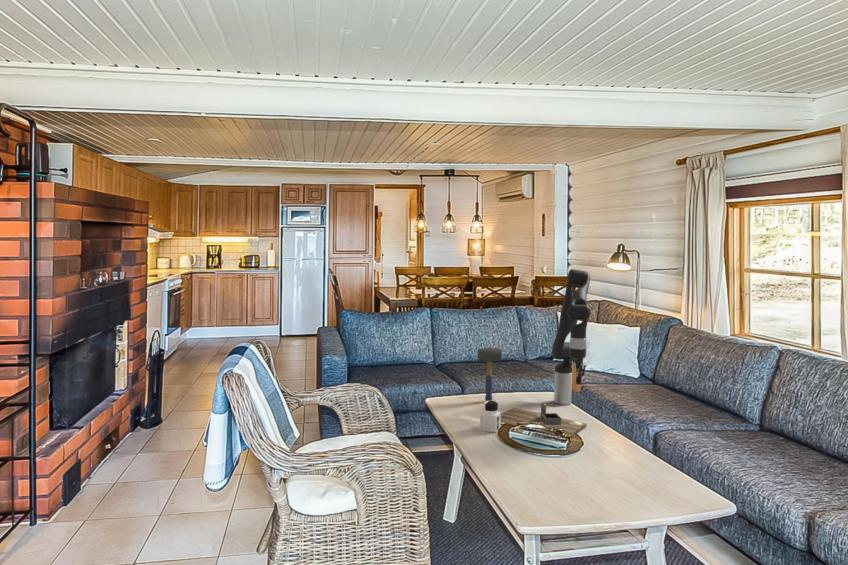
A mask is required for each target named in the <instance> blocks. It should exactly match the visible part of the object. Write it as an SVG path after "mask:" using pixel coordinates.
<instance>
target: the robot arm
mask: <svg viewBox="0 0 848 565" xmlns="http://www.w3.org/2000/svg"><path fill="white" fill-rule="evenodd" d="M590 283H591V274H590V272H588V271H587V270H581V269H573V268H572V269H570V270H569V271H568V273H567V279H566V287H565V293H564V298H563V302H562V306H561V311H560V317H559V321H558V326H557V331H556V335H555V337H554V341H553V344H552V348H551V349H552V351H551V354H552V357H553V359H554V360H559V361H560V360H561V362H560V363H558V364H556V365H555V367H554V384H553V385H554V387H553V388H554V389H553V390H554V391H553V393H554V394H553V398H554V399H553V402H554V403H555V404H558V405H563V406H564V405H565V406H567V405H571V404H572V395H573V394H572V392H573V391H572V368H573V363H574V365H575V371H576V375H577V376H576V384H581V385H582V377H585V372H586V367H587V365H586V364H584V359H585V358H586V357H587V327H588V322H589V319H590V317H591V313H592V310H591V307H590V306H589V305H588V304H587V302H588V297H587V296H588V292H589V288H590ZM573 288H576V290H574V291H573ZM579 320H581V322H580V323H578V321H579ZM569 334H570V337H569V338H570V339H569V342H567V341H566V340H567V338H568V336H569ZM578 369H579V370H578ZM578 371H579V372H578Z"/></svg>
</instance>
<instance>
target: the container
mask: <svg viewBox="0 0 848 565" xmlns="http://www.w3.org/2000/svg"><path fill="white" fill-rule="evenodd" d="M498 407H499V402H498V401H495V400H491V401H486V400H485V401H484V402H483V411H482V412H481V413H480V415H479V417H480V418H479V430H480V431H483V432H489V433H497V432H498V430H500V428H501V425H500V424H502V422H501V414H502V412H501V411H498V410H499V409H498Z"/></svg>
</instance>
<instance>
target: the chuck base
mask: <svg viewBox="0 0 848 565" xmlns="http://www.w3.org/2000/svg"><path fill="white" fill-rule="evenodd" d="M537 413H538V412H535V411H530V410H527V409H521V408H517V407H512V408H510V409H508V410H505V411H504V412H501V424H500V426H503V425H505V424H506V425H510V426H515V425H517V423H519V422H540V420H539V419H537ZM560 418H561V429H563V430H564V431H565V432H567V433H568V434H569V436H570V435H572V434H574V433H577V434H578V433H580V432H581V431H583V430H585V429H586V428H587V426H588V425H587V423H585V422H580V421H576V420H571V419H567V418H563V417H560Z"/></svg>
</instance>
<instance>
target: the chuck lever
mask: <svg viewBox="0 0 848 565" xmlns="http://www.w3.org/2000/svg"><path fill="white" fill-rule="evenodd" d="M536 413H537V419H539V420H540V424H541V425H542V426H544V427H545V428H557V429H561V418H562V417H560V415H559V414H558V413H555V412H549V413H548V412H547V403H545V402H542V403H541V404H540V412H536Z"/></svg>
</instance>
